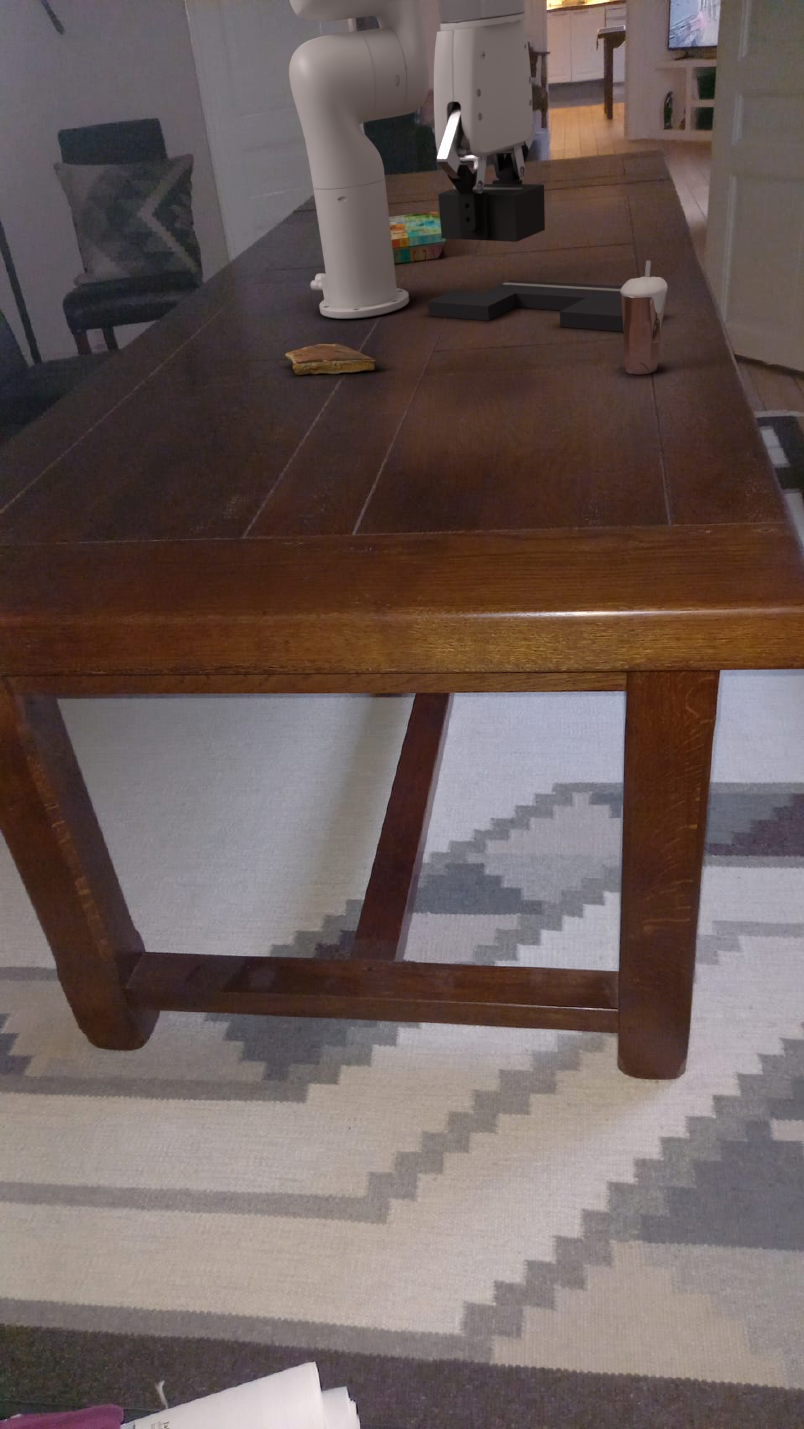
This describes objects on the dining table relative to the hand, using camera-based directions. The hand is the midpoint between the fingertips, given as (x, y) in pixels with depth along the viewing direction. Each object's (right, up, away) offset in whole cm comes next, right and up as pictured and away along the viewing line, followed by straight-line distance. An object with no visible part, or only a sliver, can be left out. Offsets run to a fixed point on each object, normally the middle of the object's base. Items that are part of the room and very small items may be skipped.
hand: (492, 229), depth 97 cm
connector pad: (0, 0, 0) cm, 0 cm away
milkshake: (+16, -12, +6) cm, 21 cm away
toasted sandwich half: (-17, -6, +20) cm, 27 cm away
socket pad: (+10, +4, +29) cm, 31 cm away
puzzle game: (-8, +31, +70) cm, 76 cm away
